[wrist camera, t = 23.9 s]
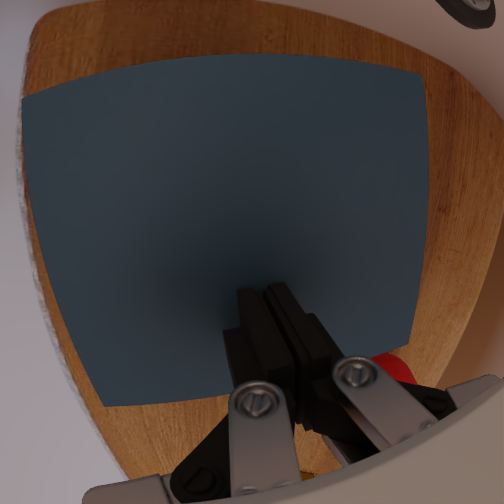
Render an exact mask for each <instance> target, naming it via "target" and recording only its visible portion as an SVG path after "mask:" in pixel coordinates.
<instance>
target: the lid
mask: <svg viewBox="0 0 504 504" xmlns="http://www.w3.org/2000/svg"><path fill="white" fill-rule="evenodd" d="M22 133H23V147H24V158H25V167H26V175H27V182H28V189H29V195H30V201H31V207H32V212H33V217H34V222H35V226H36V231H37V235H38V239H39V244H40V248H41V251H42V255H43V259H44V262H45V266H46V269H47V273H48V276H49V279H50V283H51V286H52V289H53V292H54V295H55V298H56V301H57V304H58V306H59V309H60V312H61V315H62V317H63V320H64V322H65V325H66V327H67V330H68V332H69V335H70V337H71V340H72V342H73V344H74V347H75V349H76V351H77V353H78V356H79V358H80V360H81V362H82V364H83V366H84V369H85V371H86V373H87V375H88V377H89V379H90V381H91V383H92V385H93V387H94V388H95V390H96V392H97V394H98V396H99V398H100V400H101V401H102V403H103V405H104V406H105V407H111V406H132V405H146V404H158V403H168V402H177V401H185V400H193V399H200V398H207V397H214V396H220V395H226V394H231V393H232V391H233V390H234V386H233V382H232V378H231V374H230V370H229V366H228V361H227V356H226V351H225V345H224V339H223V332H222V330H226V329H232V328H237V327H240V319H239V310H238V301H237V290H240V289H246V288H253V289H254V291H260V293H261V295H262V297H263V290H264V289H268V285H270V284H275V283H281V282H284V283H285V284H286V285H287V287H288V288H289V290H290V291H291V293H292V294H293V296H294V297H295V299H296V300H297V302H298V303H299V305H300V306H301V308H302V309H303V311H304V312H305V313H306V314H308V313H314V314H315V315H316V316H317V318H318V319H319V321H320V322H321V323H322V325H323V326H324V328H325V329H326V330H327V332H328V333H329V335H330V336H331V337H332V339H333V340H334V342H335V343H336V344H337V346H338V347H339V349H340V350H341V351H342V353H343V354H344V356H345V357H347V356H353V355H359V356H365V357H368V358H371V357H374V356H377V355H380V354H382V353H385V352H388V351H391V350H393V349H396V348H399V347H401V346H404V345H406V344H408V342H409V338H410V334H411V329H412V324H413V320H414V315H415V310H416V304H417V299H418V293H419V287H420V281H421V274H422V266H423V259H424V250H425V240H426V229H427V215H428V194H429V146H428V125H427V112H426V101H425V92H424V84H423V76H422V75H420V74H416V73H412V72H408V71H404V70H400V69H395V68H391V67H386V66H381V65H376V64H370V63H365V62H358V61H352V60H345V59H337V58H328V57H319V56H307V55H291V54H223V55H207V56H195V57H186V58H177V59H169V60H162V61H156V62H149V63H144V64H138V65H133V66H128V67H123V68H118V69H114V70H110V71H105V72H101V73H97V74H94V75H90V76H86V77H83V78H79V79H76V80H72V81H69V82H66V83H63V84H60V85H57V86H54V87H51V88H48V89H45V90H42V91H40V92H37V93H34V94H32V95H29V96H27V97H24V98H22Z"/></svg>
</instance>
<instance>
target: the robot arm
mask: <svg viewBox="0 0 504 504" xmlns="http://www.w3.org/2000/svg"><path fill="white" fill-rule="evenodd" d="M462 1H463V2H464V3H465V4H467V5H468V6H470V7H471V8H473V9H475V10H479V11H481V10H486V9H488V7H489V5H490V0H462ZM237 301H238V310H239V319H240V327H237V328H232V329H226V330H222V332H223V339H224V345H225V351H226V356H227V361H228V366H229V370H230V374H231V378H232V382H233V386H234V390H233V391H232V393H231V394H230V396H229V401H228V414H227V415H226V416H225V417H224V418H223V419H222V420H221V422H220V423H219V424H218V425H217V426H216V427H215V428H214V429H213V430H212V431H211V432H210V433H209V434H208V436H207V437H206V438H205V439H204V440H203V441H202V442H201V443H200V444H199V445H198V446H197V447H196V448H195V449H194V450H193V451H192V452H191V453H190V454H189V455H188V456H187V457H186V458H185V459H184V460H183V461H182V462H181V463H180V464H179V465H178V466H177V467H176V468H175V470H174V471H173V472H172V473H169V474H166V475H162V476H160V475H159V474H154V475H150V476H146V477H142V478H137V479H133V480H128V481H123V482H118V483H113V484H107V485H101V486H96V487H93V488H90V489H89V490H88V491H87V492H86V493H85V494H84V496H83V499H82V504H504V377H503V378H502V379H500V378H498V377H496V376H495V375H490V374H489V375H484V376H481V377H478V378H475V379H473V380H469V381H466V382H463V383H460V384H457V385H454V386H451V387H447V388H446V389H445V391H442V390H439V389H435V388H431V387H426V386H421V385H416V384H411V383H407V382H402V381H398V380H395V379H394V378H393V377H392V376H391V375H389V374H388V373H387V372H386V371H385V370H384V369H383V368H382V367H381V366H380V365H379V364H378V363H376V362H375V361H374V360H372V359H370V358H368V357H365V356H359V355H353V356H347V357H345V356H344V354H343V353H342V351H341V350H340V349H339V347H338V346H337V344H336V343H335V342H334V340H333V339H332V337H331V336H330V335H329V333H328V332H327V330H326V329H325V328H324V326H323V325H322V323H321V322H320V321H319V319H318V318H317V316H316V315H315V314H314V313H308V314H306V313H305V312H304V311H303V309H302V308H301V306H300V305H299V303H298V302H297V300H296V299H295V297H294V296H293V294H292V293H291V291H290V290H289V288H288V287H287V285H286V284H285V283H284V282H281V283H275V284H270V285H268V289H264V290H263V297H262V295H261V293H260V291H254V289H253V288H246V289H240V290H237ZM295 422H296V424H301V423H302V425H303V427H304V429H305V431H308V430H311V429H313V431H314V432H316V433H319V434H321V435H322V439H323V441H324V442H325V444H326V445H327V446H328V448H329V449H330V451H331V452H332V453H333V455H334V456H335V457H336V459H337V460H338V461H339V463H340V464H341V465H342V467H343V468H341V469H338V470H335V471H332V472H329V473H327V474H324V475H321V476H318V477H314V478H311V479H308V480H305V481H302V478H301V473H300V468H299V463H298V458H297V453H296V448H295V443H294V428H295Z"/></svg>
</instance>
